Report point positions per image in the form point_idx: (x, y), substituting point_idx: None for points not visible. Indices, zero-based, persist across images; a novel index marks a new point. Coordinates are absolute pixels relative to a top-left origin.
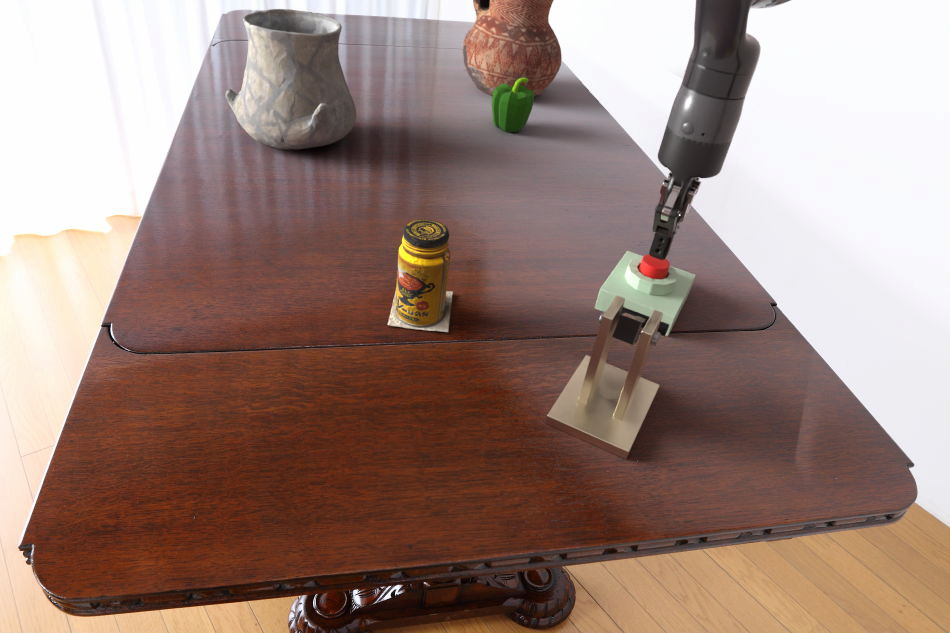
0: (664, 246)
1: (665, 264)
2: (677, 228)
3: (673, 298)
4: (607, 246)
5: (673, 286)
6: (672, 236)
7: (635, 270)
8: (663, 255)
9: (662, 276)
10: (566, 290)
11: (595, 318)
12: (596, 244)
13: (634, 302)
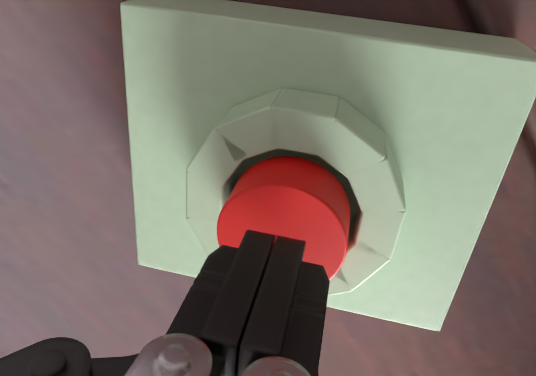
0: (322, 326)
1: (285, 203)
2: (205, 369)
3: (381, 83)
4: (80, 263)
5: (342, 110)
6: (278, 354)
7: (332, 277)
8: (302, 263)
9: (330, 181)
10: (367, 340)
11: (483, 270)
12: (93, 288)
13: (481, 227)
